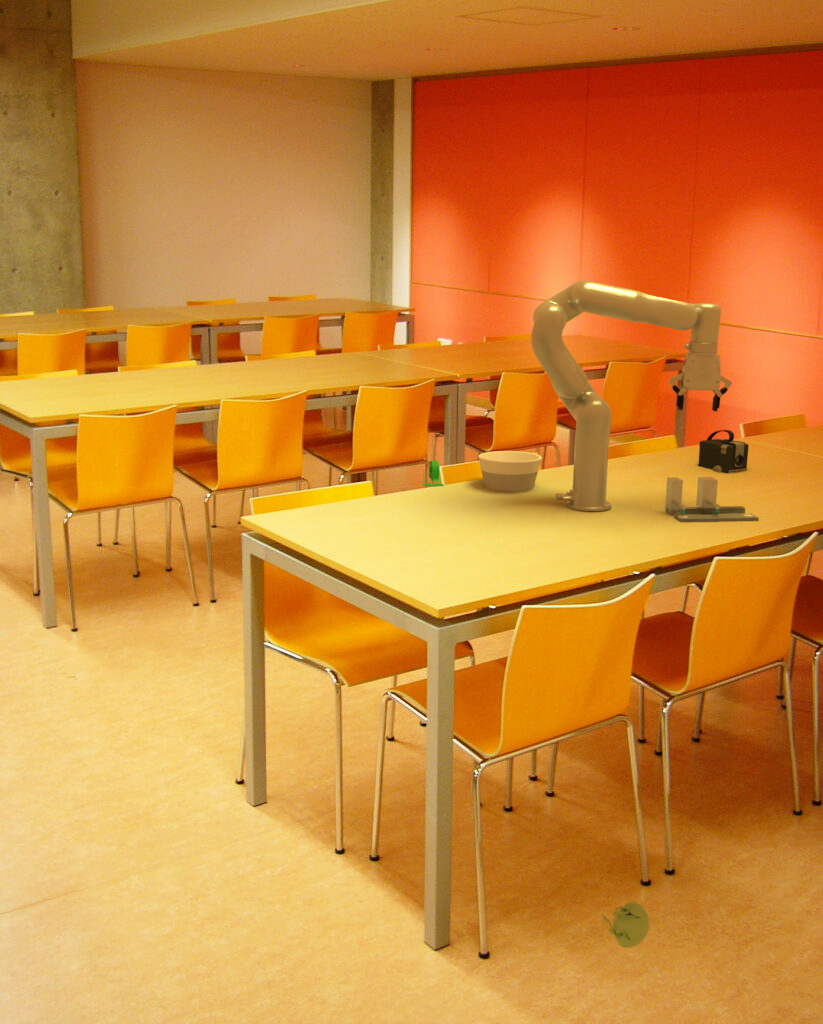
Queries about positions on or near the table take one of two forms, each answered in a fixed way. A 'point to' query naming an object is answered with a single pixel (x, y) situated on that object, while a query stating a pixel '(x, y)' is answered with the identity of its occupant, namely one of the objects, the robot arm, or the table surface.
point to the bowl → (509, 470)
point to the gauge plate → (716, 517)
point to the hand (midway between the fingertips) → (697, 410)
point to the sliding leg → (707, 493)
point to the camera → (723, 454)
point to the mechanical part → (433, 474)
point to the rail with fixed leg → (677, 508)
